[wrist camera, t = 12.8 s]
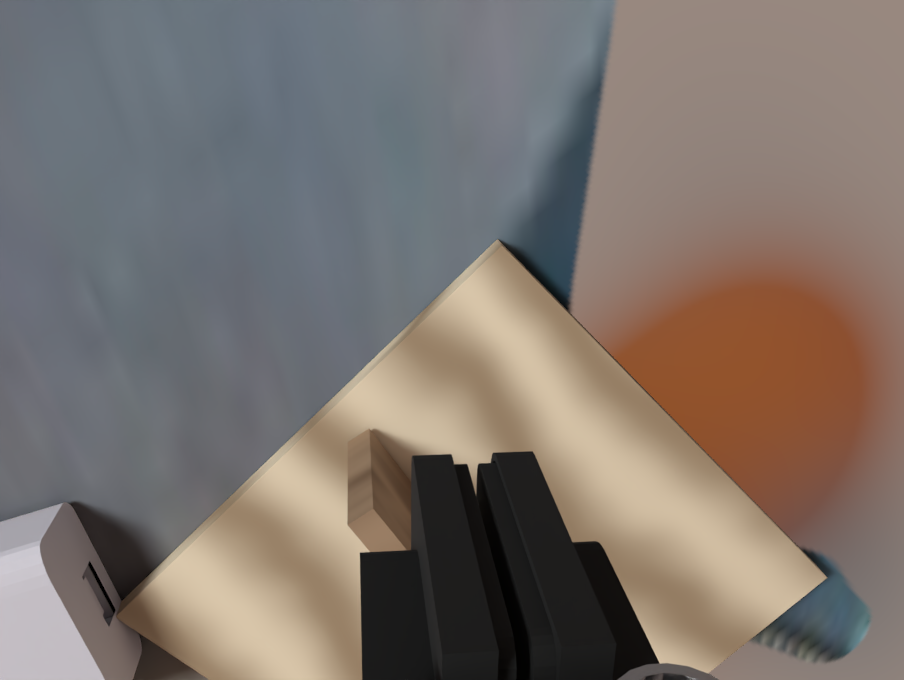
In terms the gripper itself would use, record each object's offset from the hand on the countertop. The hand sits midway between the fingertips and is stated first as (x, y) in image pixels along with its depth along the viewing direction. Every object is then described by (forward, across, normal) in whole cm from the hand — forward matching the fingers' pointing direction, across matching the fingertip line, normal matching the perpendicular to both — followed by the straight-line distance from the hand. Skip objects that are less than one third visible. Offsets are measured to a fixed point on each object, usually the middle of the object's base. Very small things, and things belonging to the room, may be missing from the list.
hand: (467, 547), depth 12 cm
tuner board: (+27, -5, +20) cm, 34 cm away
